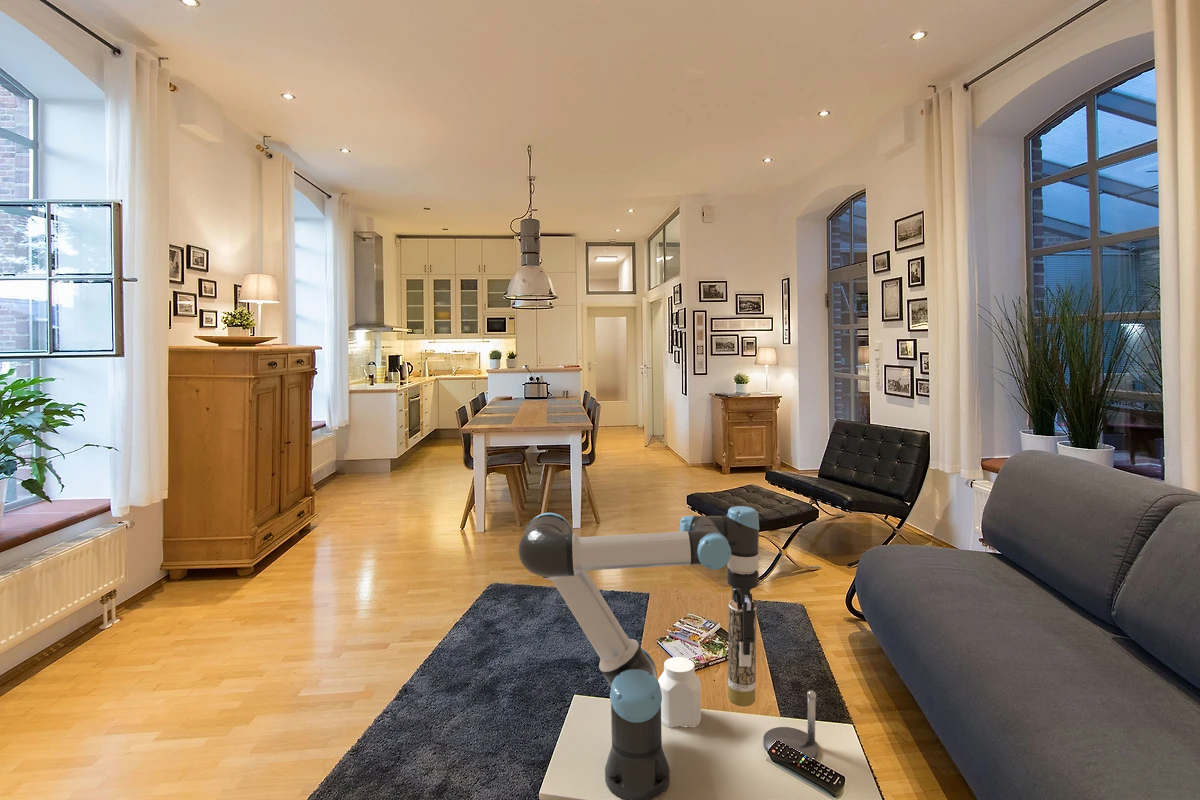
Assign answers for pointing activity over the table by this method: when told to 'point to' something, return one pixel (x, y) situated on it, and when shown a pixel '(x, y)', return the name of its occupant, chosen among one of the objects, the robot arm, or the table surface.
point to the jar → (680, 693)
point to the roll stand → (796, 733)
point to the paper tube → (739, 676)
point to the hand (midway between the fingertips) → (741, 658)
